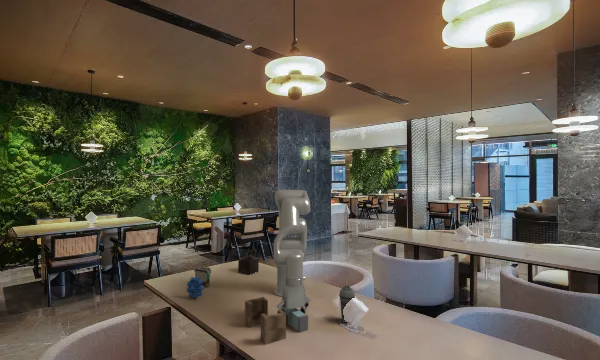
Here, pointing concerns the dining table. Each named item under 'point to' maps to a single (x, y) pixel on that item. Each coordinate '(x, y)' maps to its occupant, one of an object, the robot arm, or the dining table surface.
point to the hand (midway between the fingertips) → (294, 320)
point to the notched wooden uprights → (265, 320)
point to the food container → (203, 275)
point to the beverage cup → (345, 297)
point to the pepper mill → (248, 263)
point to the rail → (297, 319)
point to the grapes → (195, 287)
